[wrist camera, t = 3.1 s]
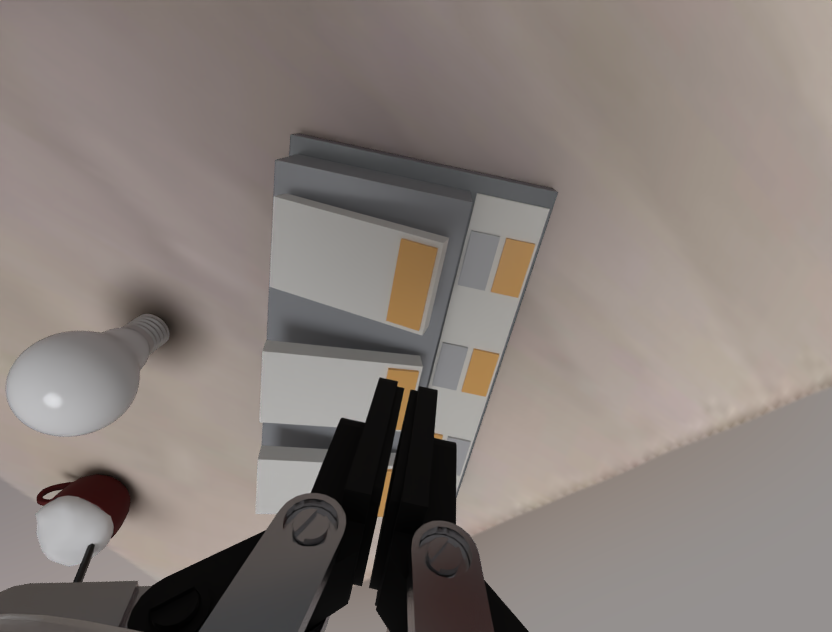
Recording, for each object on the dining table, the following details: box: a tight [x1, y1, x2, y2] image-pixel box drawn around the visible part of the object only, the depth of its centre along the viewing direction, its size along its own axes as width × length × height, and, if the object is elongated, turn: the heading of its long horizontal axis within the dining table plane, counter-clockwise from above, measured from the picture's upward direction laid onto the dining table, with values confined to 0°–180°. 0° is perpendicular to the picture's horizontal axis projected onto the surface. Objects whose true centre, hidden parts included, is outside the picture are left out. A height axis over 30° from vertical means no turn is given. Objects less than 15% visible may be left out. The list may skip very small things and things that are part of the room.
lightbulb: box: [5, 314, 170, 437], centre depth 28 cm, size 6×6×11 cm
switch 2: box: [259, 340, 423, 432], centre depth 26 cm, size 5×9×1 cm, turn 79°
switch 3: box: [256, 445, 396, 517], centre depth 29 cm, size 5×9×1 cm, turn 79°
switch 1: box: [269, 194, 449, 335], centre depth 22 cm, size 5×9×1 cm, turn 79°
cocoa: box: [35, 474, 130, 582], centre depth 37 cm, size 10×6×12 cm, turn 43°
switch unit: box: [262, 134, 558, 497], centre depth 30 cm, size 26×16×5 cm, turn 169°
